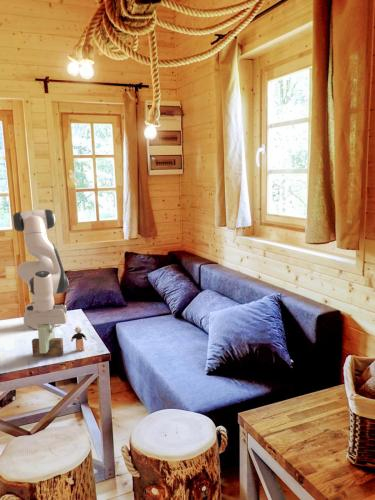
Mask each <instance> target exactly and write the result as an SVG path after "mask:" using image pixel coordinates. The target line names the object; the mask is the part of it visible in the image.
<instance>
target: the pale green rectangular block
mask: <svg viewBox="0 0 375 500" xmlns="http://www.w3.org/2000/svg"><path fill="white" fill-rule="evenodd" d="M51 328H52V326H51V324H44V325H42V326H40V327H39V328H38V329H37V332H38V338H39V350H40V353H47V352H48V350H49V346H51V340H52V338H56V337H55V327H54V328H53V333H49V329H51Z"/></svg>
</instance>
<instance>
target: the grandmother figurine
mask: <svg viewBox="0 0 375 500" xmlns="http://www.w3.org/2000/svg"><path fill="white" fill-rule="evenodd" d="M74 332H75V334H73V335H72V337H71V340H70V341H71V342H74V340H75V349H76V350H75V351H76V352H77V353H79V352H84V351H86V348H85V343H84V340H85V341H88V338H87V336H86V335H85V334H84V333H82V327H81V326H80V325H77V326H76V327H75V328H74Z"/></svg>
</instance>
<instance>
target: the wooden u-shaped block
mask: <svg viewBox="0 0 375 500" xmlns="http://www.w3.org/2000/svg"><path fill="white" fill-rule="evenodd" d="M31 348H32V357H61V356H63V355H64V354H65V353H64V340H63V337H55V338H52V340H51V346H49V350H48V352H47V353H40V350H39V337H38V338H37V337H36V338H33V339H32V340H31Z"/></svg>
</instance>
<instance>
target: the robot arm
mask: <svg viewBox="0 0 375 500" xmlns="http://www.w3.org/2000/svg"><path fill="white" fill-rule="evenodd" d="M55 223H56V215H55V213H54V212H53V210H51V209H32V210H26V211H18V212H15V213H13V215H12V219H11V224H12V226H13V228H14V230H16V231H17V232H21V233H22V232H23V236H24V237H23V238H24V243H25V246H26V249H27V252H28V254H29V255H31V257H34V258H36V259H37V260H33V261H32V260H31V261H30V260H29V261H24V262H20V264H18V266H17V268H16V273H17V275H18V277H19V279H21V280H22V281H23V282H24V283H26V284H27V285H28V287H29V289H30V291H29V292H30V293H31V300H32V302H30V303H28V304H27V305H25V307H24V310H25V311H24V312H23V323H24V325H25V326H28V327H29V328H31V329H33V330H38V328H39V327H40V326H42V325H44V324H51V326H52V328H51V329H49V333H53V328H54V329H55V328H56V327H59V326H61V325H65V324H66V323H67V322H68V314H67V313H68V312H67V311H68V309H67V306H66V305H63V304H55V297H54V294H65V292H66V291H68V289H69V285H70V283H69V279H68V277H67V274H66V273H65V269H64V266H63V264H62V261H61V258H60V254H59V252H58V249H57V246H56V245H55V244H54V243H52V242H51V241H50V240H49V238H48V234H47V230H49V229H52V228H54V226H55Z"/></svg>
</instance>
